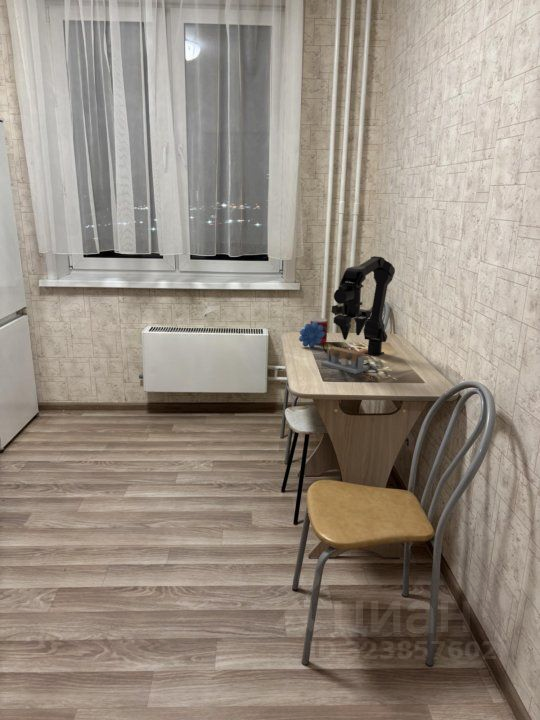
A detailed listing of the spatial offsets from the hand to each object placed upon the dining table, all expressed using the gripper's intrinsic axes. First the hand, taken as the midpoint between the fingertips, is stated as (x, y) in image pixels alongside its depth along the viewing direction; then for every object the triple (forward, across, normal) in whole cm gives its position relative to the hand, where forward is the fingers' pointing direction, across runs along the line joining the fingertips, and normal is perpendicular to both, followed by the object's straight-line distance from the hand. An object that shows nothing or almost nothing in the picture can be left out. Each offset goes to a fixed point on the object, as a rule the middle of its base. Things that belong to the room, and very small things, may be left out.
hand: (351, 337), depth 219 cm
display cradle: (+11, +5, +1) cm, 12 cm away
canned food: (+12, -19, -31) cm, 38 cm away
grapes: (+12, -10, -28) cm, 32 cm away
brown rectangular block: (+7, +5, +1) cm, 9 cm away
